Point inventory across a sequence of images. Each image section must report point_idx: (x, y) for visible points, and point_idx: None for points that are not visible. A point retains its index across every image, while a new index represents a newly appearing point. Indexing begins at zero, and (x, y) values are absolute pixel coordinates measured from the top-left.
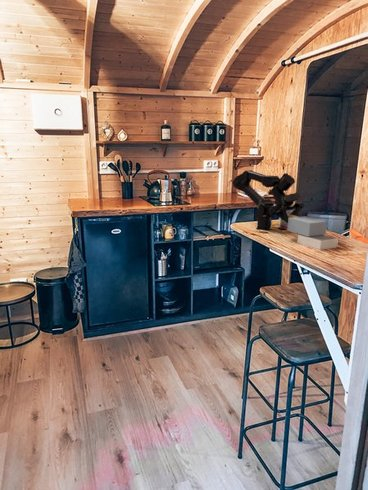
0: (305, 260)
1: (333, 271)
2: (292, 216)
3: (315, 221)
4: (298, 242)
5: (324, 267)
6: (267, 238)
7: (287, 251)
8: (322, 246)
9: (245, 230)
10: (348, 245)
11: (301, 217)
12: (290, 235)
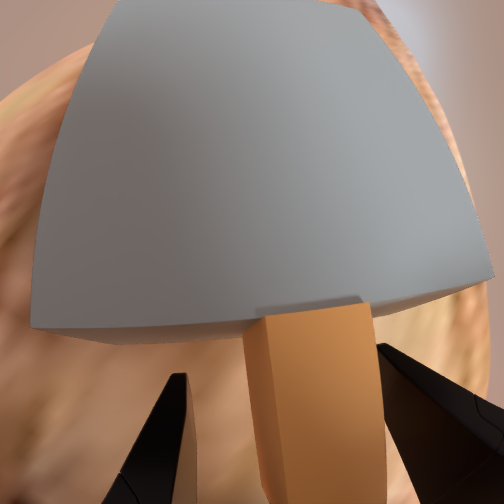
0: (410, 56)
1: (374, 8)
2: (377, 401)
3: (249, 7)
4: None
5: (382, 20)
6: (450, 378)
7: (440, 127)
8: None
9: None
10: (67, 90)
11: (241, 232)
12: (215, 441)
